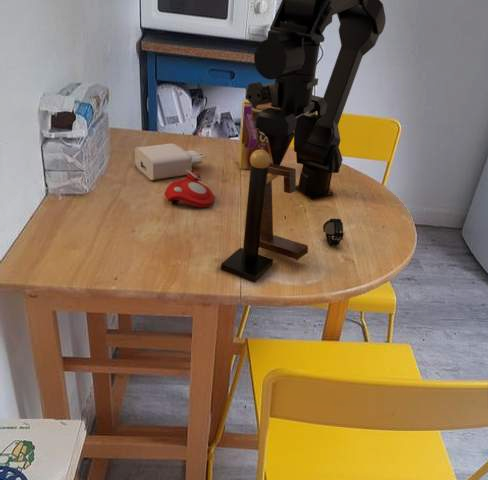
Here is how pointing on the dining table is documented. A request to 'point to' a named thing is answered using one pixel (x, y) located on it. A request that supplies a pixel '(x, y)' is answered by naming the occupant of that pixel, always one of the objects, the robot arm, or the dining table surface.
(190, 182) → the tracker holder
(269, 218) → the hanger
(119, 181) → the dining table surface
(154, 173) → the charger
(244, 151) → the candy box
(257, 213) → the coat rack
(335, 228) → the smartwatch
